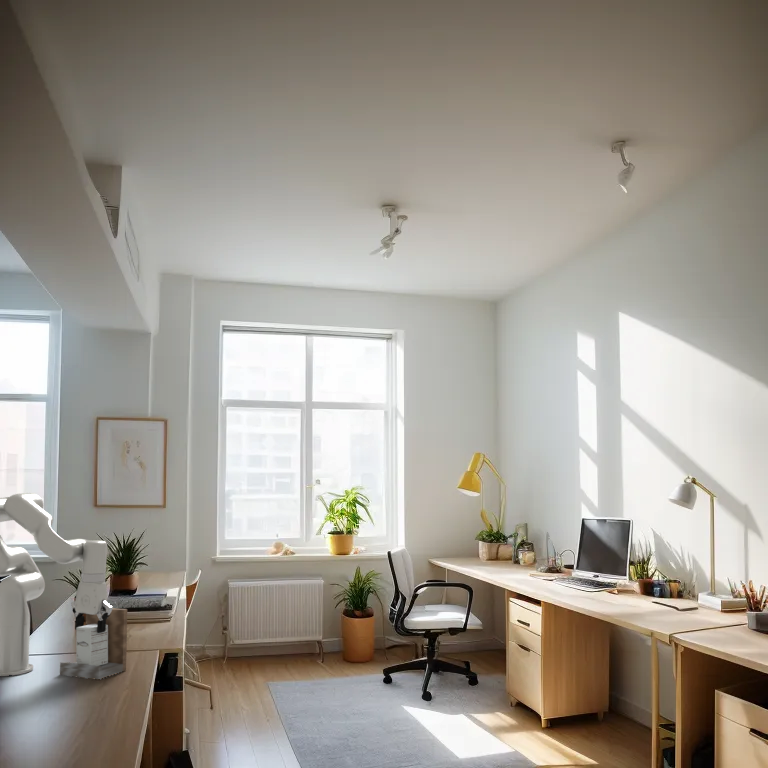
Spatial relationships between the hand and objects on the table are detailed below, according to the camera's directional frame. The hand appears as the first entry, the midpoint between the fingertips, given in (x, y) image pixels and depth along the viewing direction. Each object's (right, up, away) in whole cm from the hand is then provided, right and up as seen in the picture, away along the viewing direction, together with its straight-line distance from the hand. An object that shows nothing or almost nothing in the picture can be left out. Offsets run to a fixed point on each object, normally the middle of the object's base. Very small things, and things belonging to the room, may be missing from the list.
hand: (90, 630), depth 253 cm
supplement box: (+1, -11, -2) cm, 11 cm away
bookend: (+1, -14, -1) cm, 14 cm away
